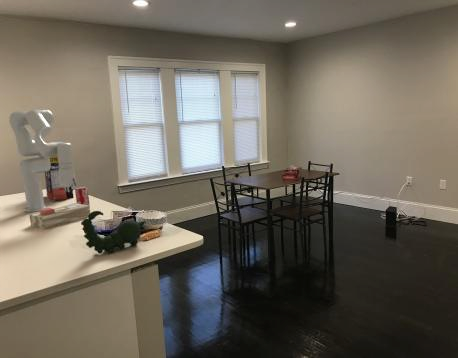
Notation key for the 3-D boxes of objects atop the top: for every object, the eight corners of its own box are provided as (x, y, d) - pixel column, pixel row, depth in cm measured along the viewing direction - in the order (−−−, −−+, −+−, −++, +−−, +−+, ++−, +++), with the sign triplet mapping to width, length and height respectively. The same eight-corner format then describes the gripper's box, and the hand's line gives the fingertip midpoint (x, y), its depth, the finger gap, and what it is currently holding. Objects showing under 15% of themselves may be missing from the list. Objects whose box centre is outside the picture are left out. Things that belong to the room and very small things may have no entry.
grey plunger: (66, 214, 204) (65, 207, 203) (74, 211, 208) (73, 205, 207) (71, 215, 201) (70, 208, 200) (79, 212, 205) (78, 205, 204)
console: (31, 225, 193) (29, 214, 192) (76, 213, 213) (74, 203, 212) (45, 229, 185) (43, 217, 184) (90, 215, 205) (89, 205, 204)
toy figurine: (94, 264, 141) (153, 242, 155) (83, 217, 136) (145, 199, 150) (87, 257, 148) (144, 237, 162) (76, 213, 144) (136, 196, 158)
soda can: (85, 209, 220) (83, 188, 218) (75, 209, 221) (72, 188, 219) (92, 206, 227) (89, 186, 224) (81, 206, 228) (79, 186, 226)
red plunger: (40, 217, 192) (39, 210, 191) (50, 215, 196) (49, 207, 195) (46, 218, 189) (44, 211, 189) (55, 216, 193) (54, 208, 193)
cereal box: (70, 199, 252) (65, 152, 247) (52, 201, 246) (46, 154, 241) (62, 193, 274) (58, 151, 269) (46, 196, 268) (41, 152, 263)
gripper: (52, 165, 201) (56, 198, 204) (67, 167, 192) (71, 201, 196) (65, 163, 207) (68, 195, 210) (80, 165, 198) (84, 198, 202)
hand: (70, 198), depth 203 cm, fingers closed
